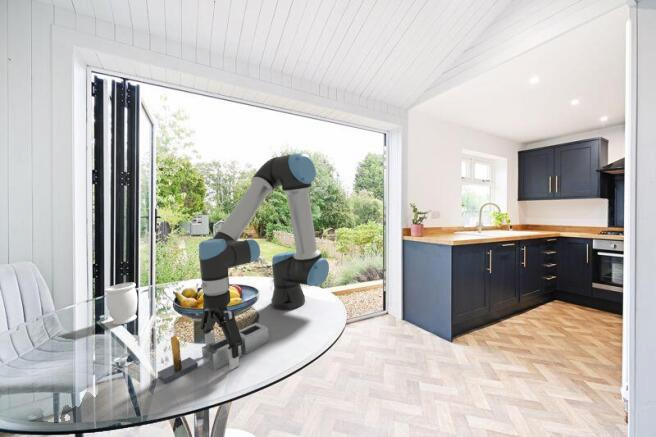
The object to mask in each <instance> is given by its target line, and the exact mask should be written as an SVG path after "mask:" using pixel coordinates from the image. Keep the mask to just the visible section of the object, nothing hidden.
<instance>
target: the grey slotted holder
mask: <svg viewBox="0 0 656 437" xmlns="http://www.w3.org/2000/svg"><path fill="white" fill-rule="evenodd" d="M239 332H240V335H241V339H242V342H243V344H242V345H241V353H243V354H245V355H247V354H249V353H251V352H252V351H255V350H256V349H258V348H260V347H262V346H263V345H266V344H267V343H269V342H270V338H269V327H268V326H266V325H264V324H260V323H258V322H255V323H253V324H250V325H248V326H246V327H244V328H241V329H239Z"/></svg>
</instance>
